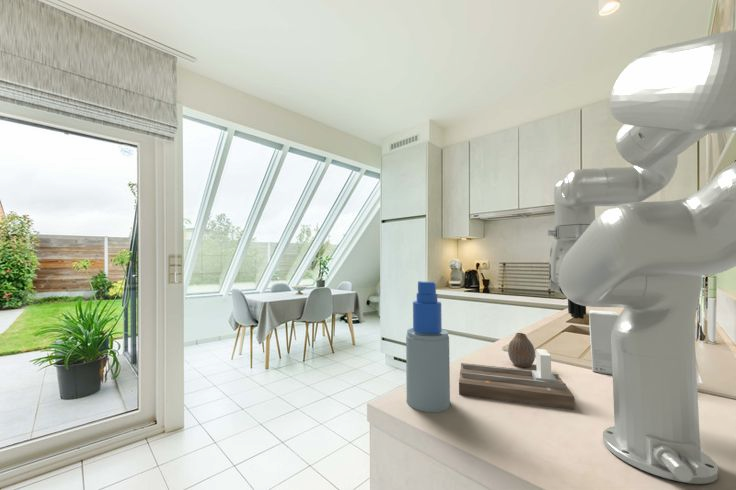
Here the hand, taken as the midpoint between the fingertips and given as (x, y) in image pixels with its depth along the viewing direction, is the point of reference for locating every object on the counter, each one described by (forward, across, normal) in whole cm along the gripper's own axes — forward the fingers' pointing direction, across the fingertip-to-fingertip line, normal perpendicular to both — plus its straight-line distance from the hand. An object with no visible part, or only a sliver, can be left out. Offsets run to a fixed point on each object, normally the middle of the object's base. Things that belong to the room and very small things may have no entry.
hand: (577, 317), depth 68 cm
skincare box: (+18, +12, +21) cm, 30 cm away
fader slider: (+14, -7, -1) cm, 16 cm away
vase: (+18, -9, +18) cm, 27 cm away
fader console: (+17, -14, -1) cm, 22 cm away
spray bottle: (+17, -31, -14) cm, 38 cm away
